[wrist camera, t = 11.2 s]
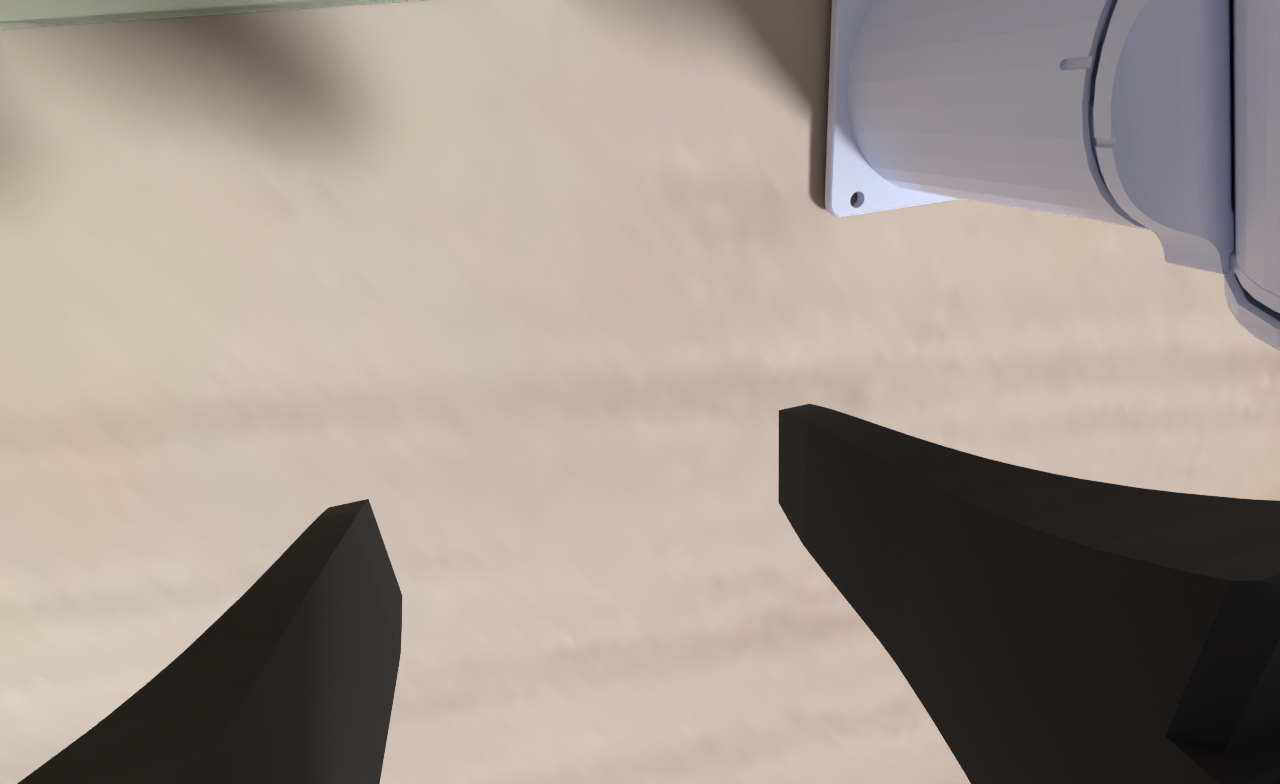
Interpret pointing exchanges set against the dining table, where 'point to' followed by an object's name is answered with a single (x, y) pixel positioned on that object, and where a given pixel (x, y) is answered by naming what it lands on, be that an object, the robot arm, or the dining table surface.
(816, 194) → the dining table surface
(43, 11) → the bin
